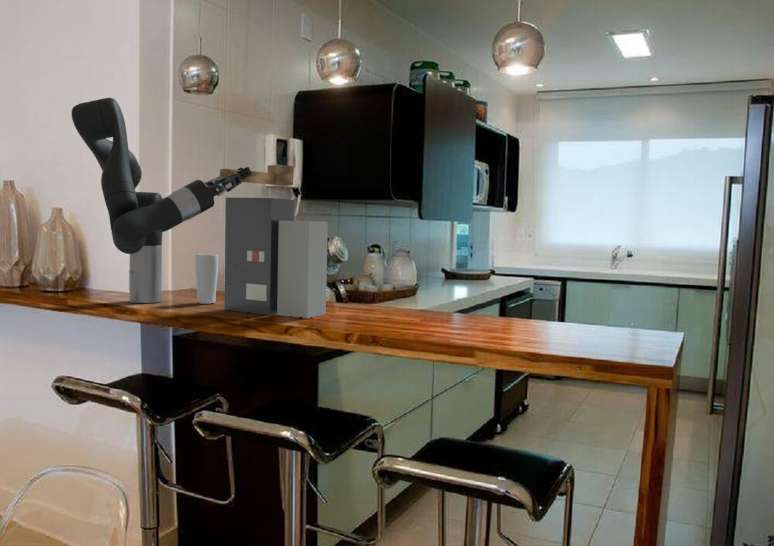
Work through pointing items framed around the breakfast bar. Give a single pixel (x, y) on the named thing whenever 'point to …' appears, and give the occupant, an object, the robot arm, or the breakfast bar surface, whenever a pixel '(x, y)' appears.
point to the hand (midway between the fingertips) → (246, 170)
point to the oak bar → (267, 175)
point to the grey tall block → (302, 268)
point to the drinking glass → (206, 277)
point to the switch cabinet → (253, 252)
